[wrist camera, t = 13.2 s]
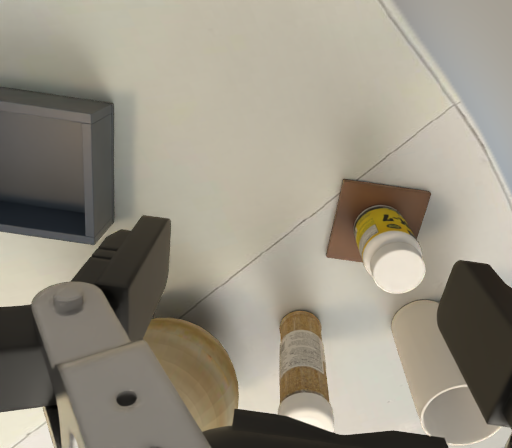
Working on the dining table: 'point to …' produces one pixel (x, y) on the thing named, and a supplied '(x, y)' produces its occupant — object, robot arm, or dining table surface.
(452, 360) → the mug
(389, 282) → the supplement bottle
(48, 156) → the open box
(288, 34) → the dining table surface
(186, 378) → the decorative ball
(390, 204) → the coaster
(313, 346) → the sprinkles bottle
